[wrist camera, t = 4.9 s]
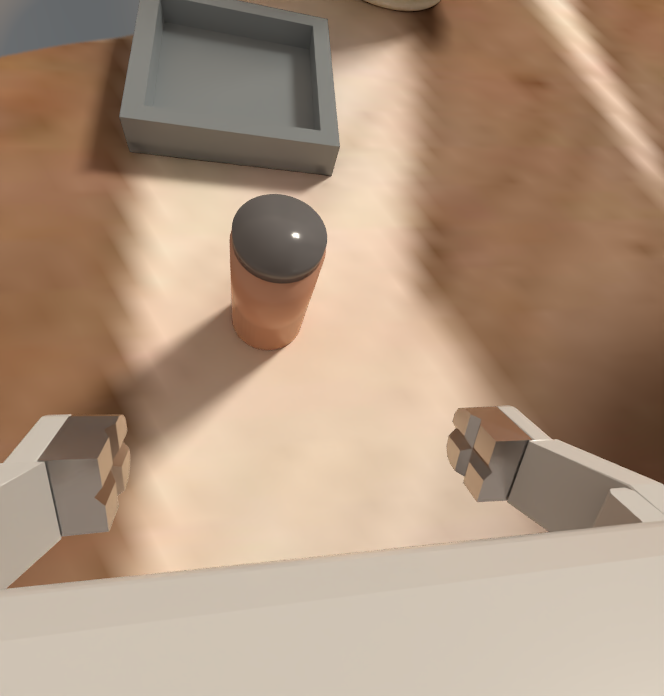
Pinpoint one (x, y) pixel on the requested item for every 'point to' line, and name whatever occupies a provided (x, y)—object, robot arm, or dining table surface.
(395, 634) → the robot arm
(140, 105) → the tray
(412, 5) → the kettle
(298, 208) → the terracotta jar
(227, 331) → the dining table surface
